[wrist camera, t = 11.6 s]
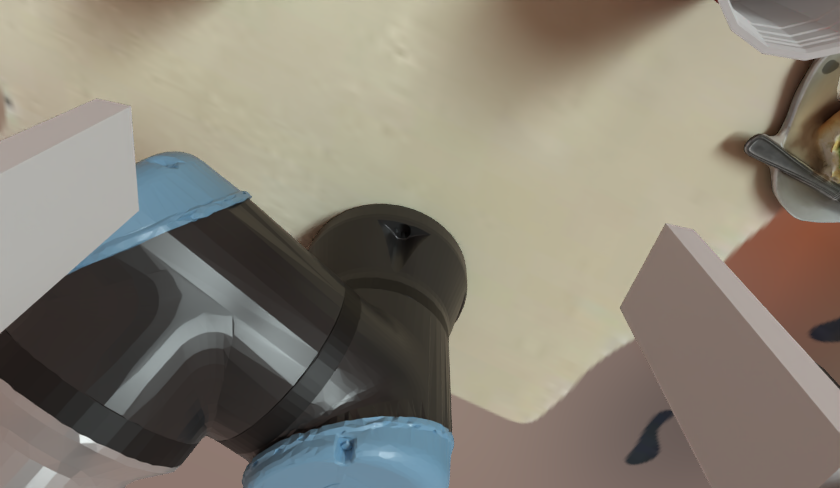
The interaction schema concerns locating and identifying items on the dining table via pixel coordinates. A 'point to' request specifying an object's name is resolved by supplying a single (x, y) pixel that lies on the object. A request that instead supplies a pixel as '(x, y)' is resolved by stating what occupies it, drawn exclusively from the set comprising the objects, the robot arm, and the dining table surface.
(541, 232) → the dining table surface
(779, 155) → the salad plate
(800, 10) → the plastic cup
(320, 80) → the dining table surface
